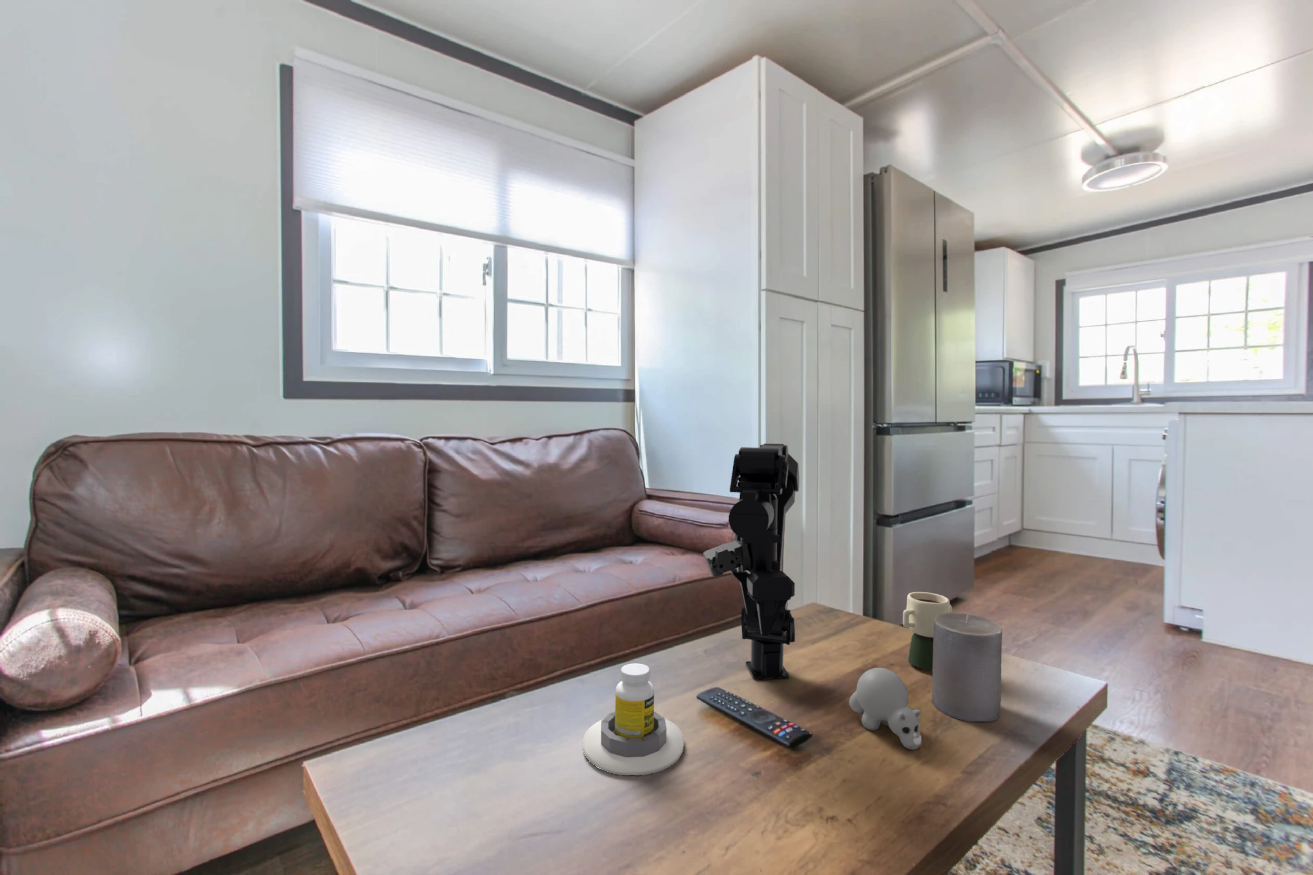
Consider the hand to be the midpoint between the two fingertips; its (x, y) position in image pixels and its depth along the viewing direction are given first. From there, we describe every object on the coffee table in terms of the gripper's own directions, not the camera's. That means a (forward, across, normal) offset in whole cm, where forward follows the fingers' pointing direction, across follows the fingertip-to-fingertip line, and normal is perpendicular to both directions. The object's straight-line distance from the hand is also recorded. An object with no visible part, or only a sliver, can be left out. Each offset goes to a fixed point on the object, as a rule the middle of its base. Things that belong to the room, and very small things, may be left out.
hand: (757, 624), depth 94 cm
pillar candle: (+13, +3, +33) cm, 36 cm away
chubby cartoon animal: (+13, +9, +17) cm, 24 cm away
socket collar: (+13, +10, -20) cm, 26 cm away
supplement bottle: (+12, +10, -20) cm, 25 cm away
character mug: (+13, -12, +35) cm, 39 cm away
